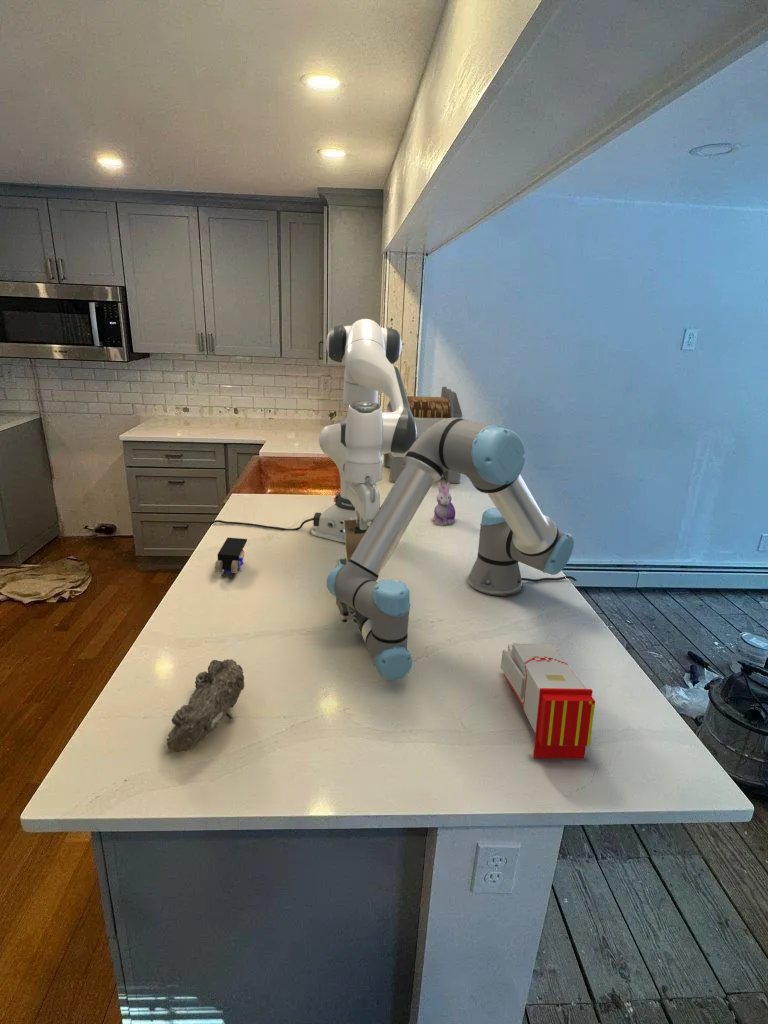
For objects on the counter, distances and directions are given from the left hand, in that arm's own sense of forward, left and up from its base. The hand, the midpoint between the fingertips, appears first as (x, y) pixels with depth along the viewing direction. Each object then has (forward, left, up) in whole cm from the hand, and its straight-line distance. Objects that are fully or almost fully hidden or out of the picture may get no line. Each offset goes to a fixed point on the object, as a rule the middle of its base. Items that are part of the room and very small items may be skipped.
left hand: (361, 527), depth 138 cm
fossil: (-14, -46, -24) cm, 54 cm away
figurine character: (-43, +12, -24) cm, 51 cm away
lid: (-3, +4, -8) cm, 10 cm away
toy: (+45, -23, -24) cm, 56 cm away
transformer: (-15, +138, -24) cm, 141 cm away
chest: (-5, +8, -24) cm, 26 cm away
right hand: (-3, +5, -18) cm, 19 cm away
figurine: (+8, +76, -24) cm, 81 cm away
